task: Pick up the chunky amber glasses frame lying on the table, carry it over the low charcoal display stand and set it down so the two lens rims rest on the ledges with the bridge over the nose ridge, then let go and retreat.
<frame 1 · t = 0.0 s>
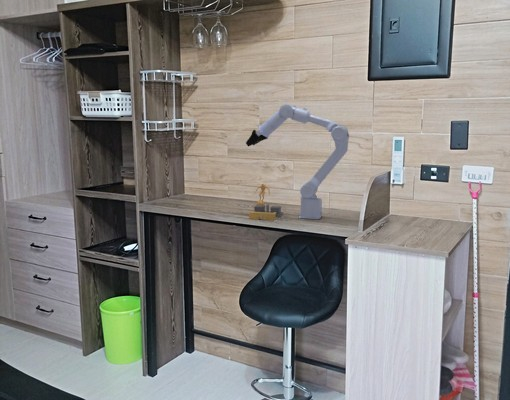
hand: (249, 144, 235), 32 cm above the table, tool tilted 50°, fingers open, 7 cm apart
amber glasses: (262, 219, 228), on the table
figurine: (261, 208, 255), on the table
display stand: (267, 214, 238), on the table
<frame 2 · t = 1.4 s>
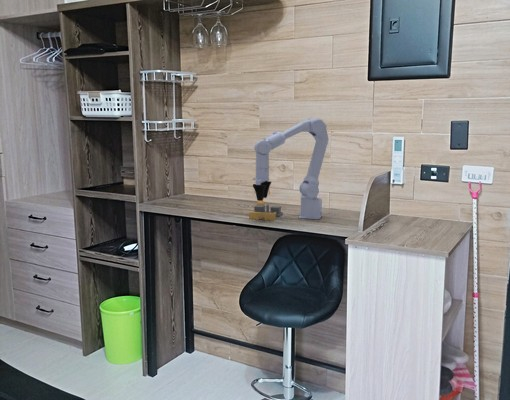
hand: (262, 199, 227), 9 cm above the table, tool pointing down, fingers open, 7 cm apart
nothing on the table moved.
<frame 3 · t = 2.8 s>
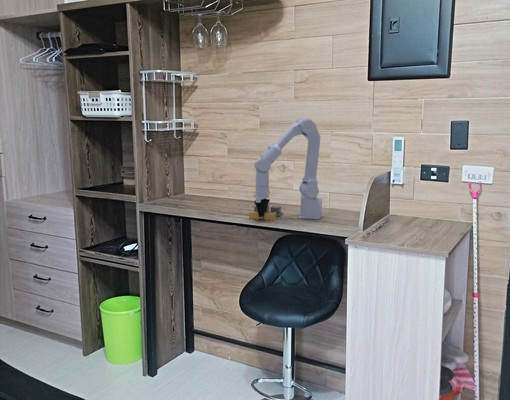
hand: (262, 216, 228), 1 cm above the table, tool pointing down, fingers closed on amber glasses, 2 cm apart
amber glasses: (262, 219, 228), on the table, touching gripper
everything else where it was.
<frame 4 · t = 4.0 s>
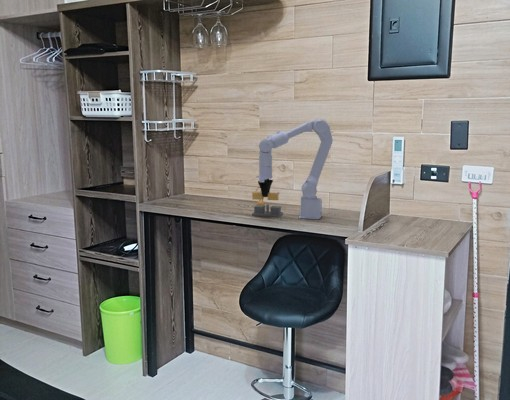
hand: (265, 196, 232), 9 cm above the table, tool pointing down, fingers closed on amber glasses
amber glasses: (265, 199, 232), point 8 cm above the table, touching gripper
everything else where it was.
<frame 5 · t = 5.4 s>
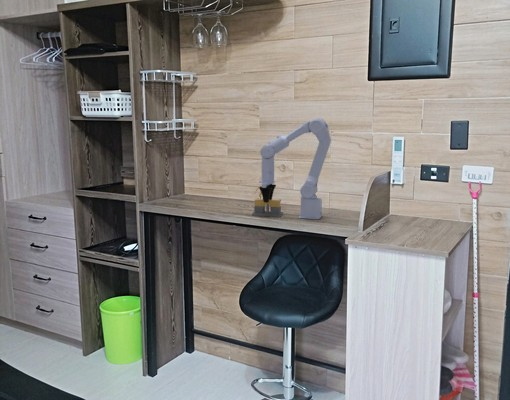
hand: (267, 201, 237), 6 cm above the table, tool pointing down, fingers open, 5 cm apart
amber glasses: (267, 206, 237), point 4 cm above the table, touching display stand
everything else where it was.
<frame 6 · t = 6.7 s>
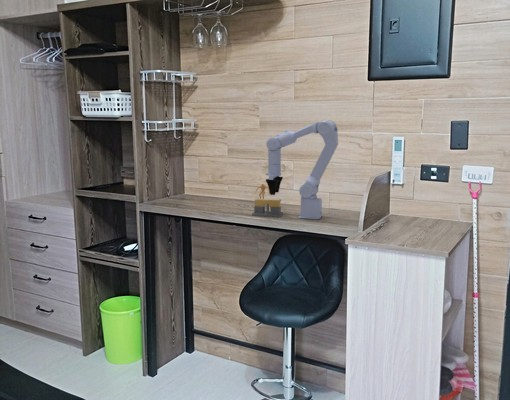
hand: (274, 193, 237), 10 cm above the table, tool pointing down, fingers open, 7 cm apart
nothing on the table moved.
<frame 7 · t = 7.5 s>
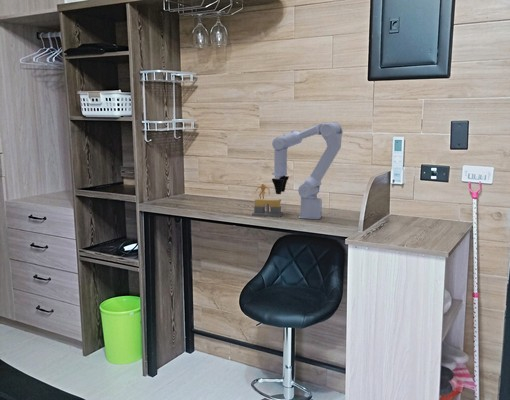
hand: (280, 192, 239), 10 cm above the table, tool pointing down, fingers open, 7 cm apart
nothing on the table moved.
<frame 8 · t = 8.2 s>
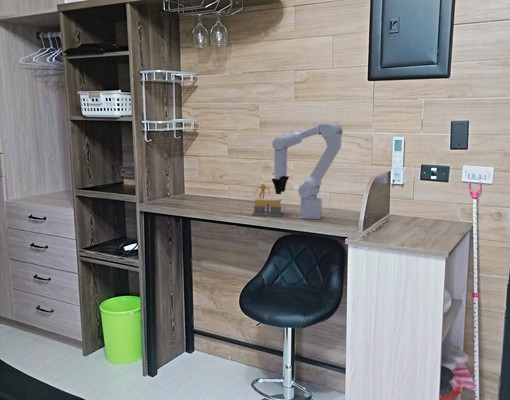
hand: (280, 192, 239), 10 cm above the table, tool pointing down, fingers open, 7 cm apart
nothing on the table moved.
at the end: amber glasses 0.1 cm off-centre on the display stand, point 4.0 cm above the display stand's base; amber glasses tilted 0°; the gripper is holding nothing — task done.
